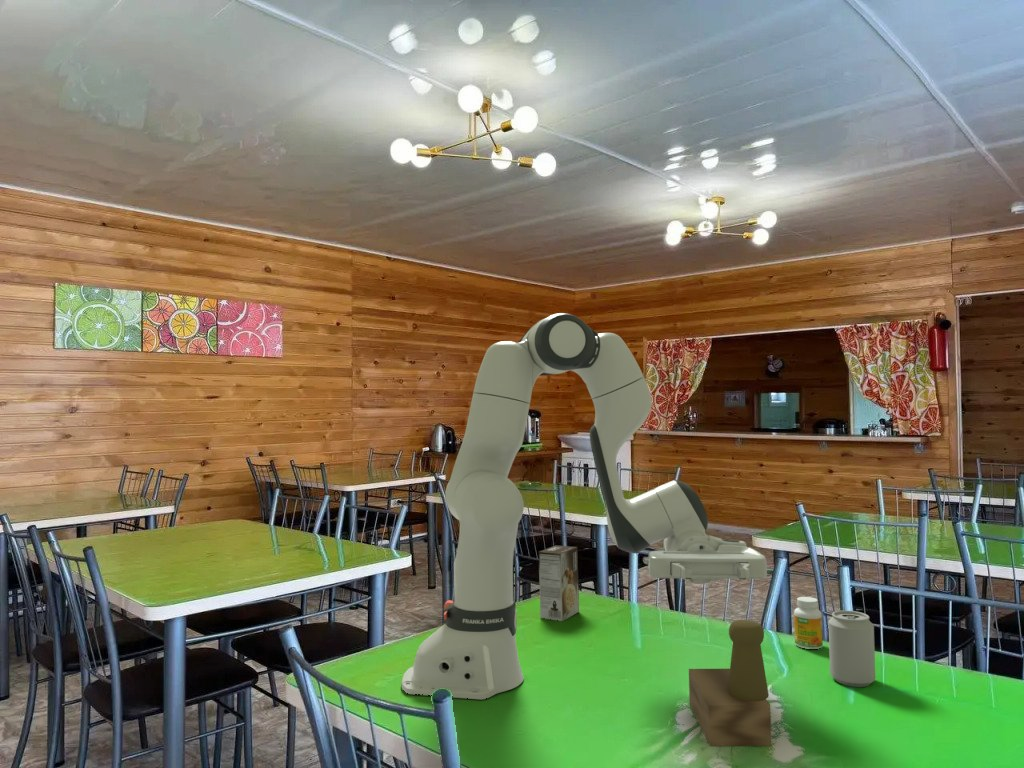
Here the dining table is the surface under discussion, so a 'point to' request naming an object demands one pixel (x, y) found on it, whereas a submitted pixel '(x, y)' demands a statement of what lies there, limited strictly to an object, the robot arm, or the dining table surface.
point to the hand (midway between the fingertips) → (715, 574)
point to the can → (851, 648)
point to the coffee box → (558, 582)
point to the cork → (747, 662)
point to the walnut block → (727, 711)
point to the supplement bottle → (808, 623)
